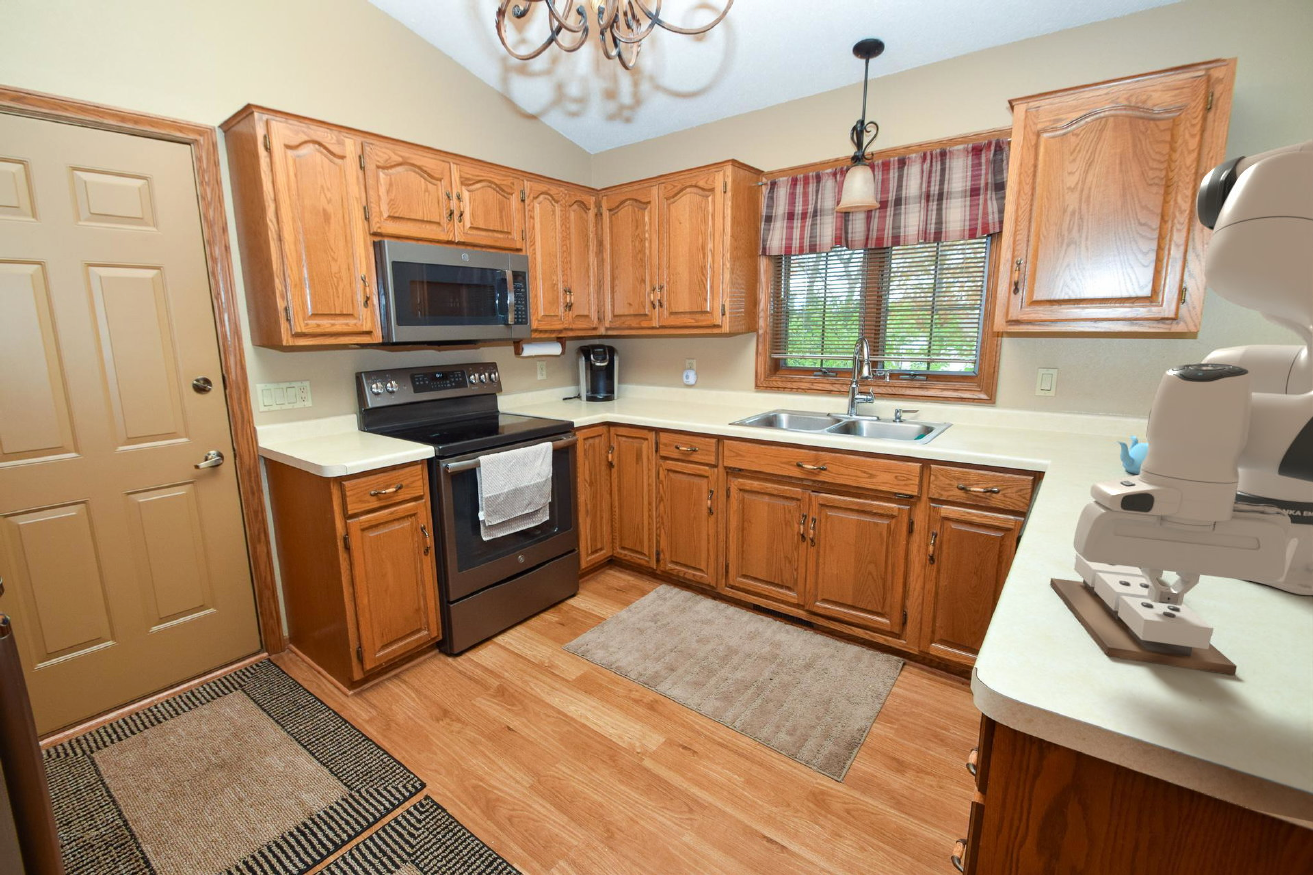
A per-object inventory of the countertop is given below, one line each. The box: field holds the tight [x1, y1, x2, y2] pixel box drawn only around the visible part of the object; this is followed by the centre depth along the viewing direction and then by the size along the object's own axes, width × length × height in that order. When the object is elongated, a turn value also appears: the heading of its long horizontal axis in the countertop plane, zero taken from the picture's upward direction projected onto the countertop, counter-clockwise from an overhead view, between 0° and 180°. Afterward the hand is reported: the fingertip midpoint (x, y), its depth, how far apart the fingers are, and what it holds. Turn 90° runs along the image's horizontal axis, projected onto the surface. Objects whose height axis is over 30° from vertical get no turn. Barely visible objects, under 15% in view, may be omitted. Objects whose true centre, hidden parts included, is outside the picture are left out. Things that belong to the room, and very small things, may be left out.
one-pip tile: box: [1074, 552, 1144, 587], centre depth 87 cm, size 7×7×3 cm
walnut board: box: [1049, 577, 1238, 676], centre depth 80 cm, size 13×22×3 cm, turn 161°
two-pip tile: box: [1094, 572, 1162, 611], centre depth 80 cm, size 7×7×3 cm
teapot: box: [1116, 434, 1148, 475], centre depth 168 cm, size 15×15×10 cm
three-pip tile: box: [1118, 596, 1214, 649], centre depth 73 cm, size 7×7×3 cm
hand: (1164, 602), depth 72 cm, fingers closed
